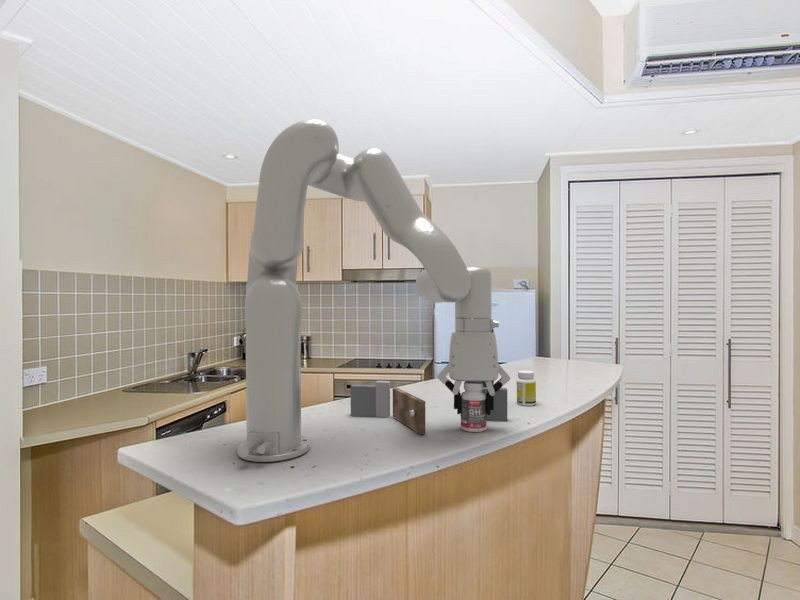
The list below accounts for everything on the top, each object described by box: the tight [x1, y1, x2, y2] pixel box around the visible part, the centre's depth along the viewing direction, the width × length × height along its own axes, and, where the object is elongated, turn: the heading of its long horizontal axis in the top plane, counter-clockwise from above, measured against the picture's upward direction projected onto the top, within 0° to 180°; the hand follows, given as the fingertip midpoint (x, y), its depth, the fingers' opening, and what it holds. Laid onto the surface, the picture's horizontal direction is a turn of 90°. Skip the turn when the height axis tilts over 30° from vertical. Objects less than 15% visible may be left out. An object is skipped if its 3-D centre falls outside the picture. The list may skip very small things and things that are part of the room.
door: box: [392, 387, 426, 435], centre depth 97 cm, size 15×2×6 cm, turn 22°
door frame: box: [350, 380, 508, 422], centre depth 104 cm, size 2×36×8 cm, turn 82°
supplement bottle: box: [516, 369, 537, 407], centre depth 117 cm, size 5×5×8 cm
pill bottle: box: [460, 381, 488, 433], centre depth 95 cm, size 5×5×10 cm
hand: (473, 412), depth 95 cm, fingers closed on pill bottle, 5 cm apart
